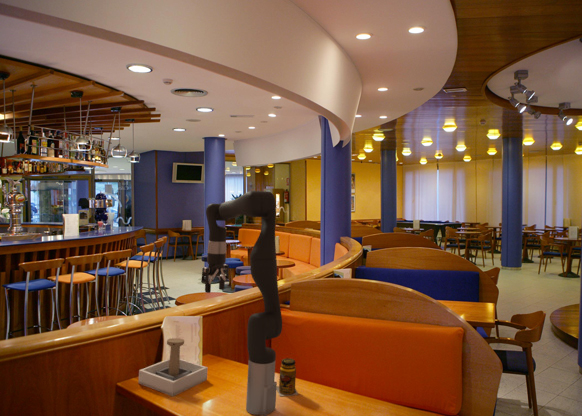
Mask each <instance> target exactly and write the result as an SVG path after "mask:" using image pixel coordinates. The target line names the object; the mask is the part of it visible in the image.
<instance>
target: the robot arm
mask: <svg viewBox="0 0 582 416" xmlns="http://www.w3.org/2000/svg"><path fill="white" fill-rule="evenodd" d="M276 204H277V203H276V198H275V195H274V194H273V193H272V192H271V191H265V190H264V191H261V190H249V191H246V192H245V193H243V194H242V195H240V196H239V197H236V198H235V199H232V200H228V201H224V202H222V203H213V202H212V203H209V204H208V205H207V207H206V209H205V215H206V220H207V225H208V232H209V233H208V244H207V259H206V260H207V261H206V263H207V264H208V267H205V266H203V267H202V269H201V270H202V271H201V282H202V283H204V285H205V286H204V291H205V293H209V294H210V293H211V290H212V289H211V288H212V281H214V279H215V278H216V277H218V279H219V282H218V283H219V284H218V289H219V291H220V290H221V291H223V290H225V287H226V286H225V281H226V280H227V279H229V275H230V274H229V273H230V272H229V271H230V269H229V268H230V265H229V264H226V260H227V259H226V258H227V228H226V227H225V226H220V225H218V223H217V222H223V221H224V222H226V221H231V219H237V218H239V217H241V216H246V217H251V218H261V225H260V226H261V227H260V232H259V235H258V237H257V239H256V241H255V243H254V245H253V246H252V248H251V252H250V254H249V260H250V261H249V262H250V275H251V277H252V280H253V282H254V283H255V285H256V286H257V289H258V290H259V291H260V294H261V295H262V299H263V304H264V306H263V307H264V311H263V312H262V311H261V312H257V313H252V314H251V315H250V316H249V318H248V320H247V321H248V322H247V335H246V336H247V339H246V340H247V346H246V347H247V353H248V363H247V364H248V366H247V368H248V369H247V370H248V371H247V382H246V402H245V403H246V405H245V409H246V412H248V413H249V414H251V415H254V416H268V415H269V414H272V412H274V411H276V403H277V401H276V400H277V390H276V388H277V385H278V383H277V381H275V376H276V359H277V353H276V350H274V349H273V348H271V347H267V345H266V340H267V341H268V340H271V339H275V338H278V337H280V335H281V334H282V331H283V330H282V329H283V317H282V310H281V303H280V295H279V286H278V285H279V283H278V265H277V264H278V263H277V250H276V249H277V247H276V246H277V245H276V219H277V218H276V215H277V213H276V212H277V205H276Z"/></svg>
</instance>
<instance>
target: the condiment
mask: <svg viewBox="0 0 582 416" xmlns="http://www.w3.org/2000/svg"><path fill="white" fill-rule="evenodd" d="M296 374H297V368H296V360H295V359H293V358H291V357H290V358H288V357H287V358H283V359H281V364H280V368H279V380H278V381H279V382H278V386H277V388H276V393H278V395H279V397H289V396H291V397H292V396H297V395H300V393H299V392H298V391H297V390H296V389H297V388H296V380H297V379H296V377H297V375H296Z"/></svg>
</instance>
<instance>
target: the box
mask: <svg viewBox="0 0 582 416" xmlns="http://www.w3.org/2000/svg"><path fill="white" fill-rule="evenodd" d="M169 360H170V358H168V359H165V360H163V361H159V362H157V363H154V364H152V365H149V366H146V367H145V368H141V369H139V370H138V381H137V382H138V384H140V385H141V386H144V387H147V388H150V389H151V390H155V391H157V392H160V393H163V394H165V395H168V396H171V397H175V396H177V395H180V394H181V393H183V392H185V391H187V390H190V389H191V388H193V387H195V386H198V385H199V384H201V383H204V382H206V381H207V380H208V369H209V368H208V366H204V365H201V364H198V363H195V362H192V361H189V360H185V359H182V358H180V367H179V374H178V376H176V377H173V376H171V375H169Z"/></svg>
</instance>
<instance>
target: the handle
mask: <svg viewBox="0 0 582 416" xmlns="http://www.w3.org/2000/svg"><path fill="white" fill-rule="evenodd" d="M166 344H167V346H169V347H170V353H169V359H170V360H169V375H171V376H173V377H176V376H178V374H179V367H180V359H181V357H180V355H181V354H180V352H181V351H180V349H181V346H183V345H185V339H183V338H179V337H178V338H174V337H172V338H167V340H166Z"/></svg>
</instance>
